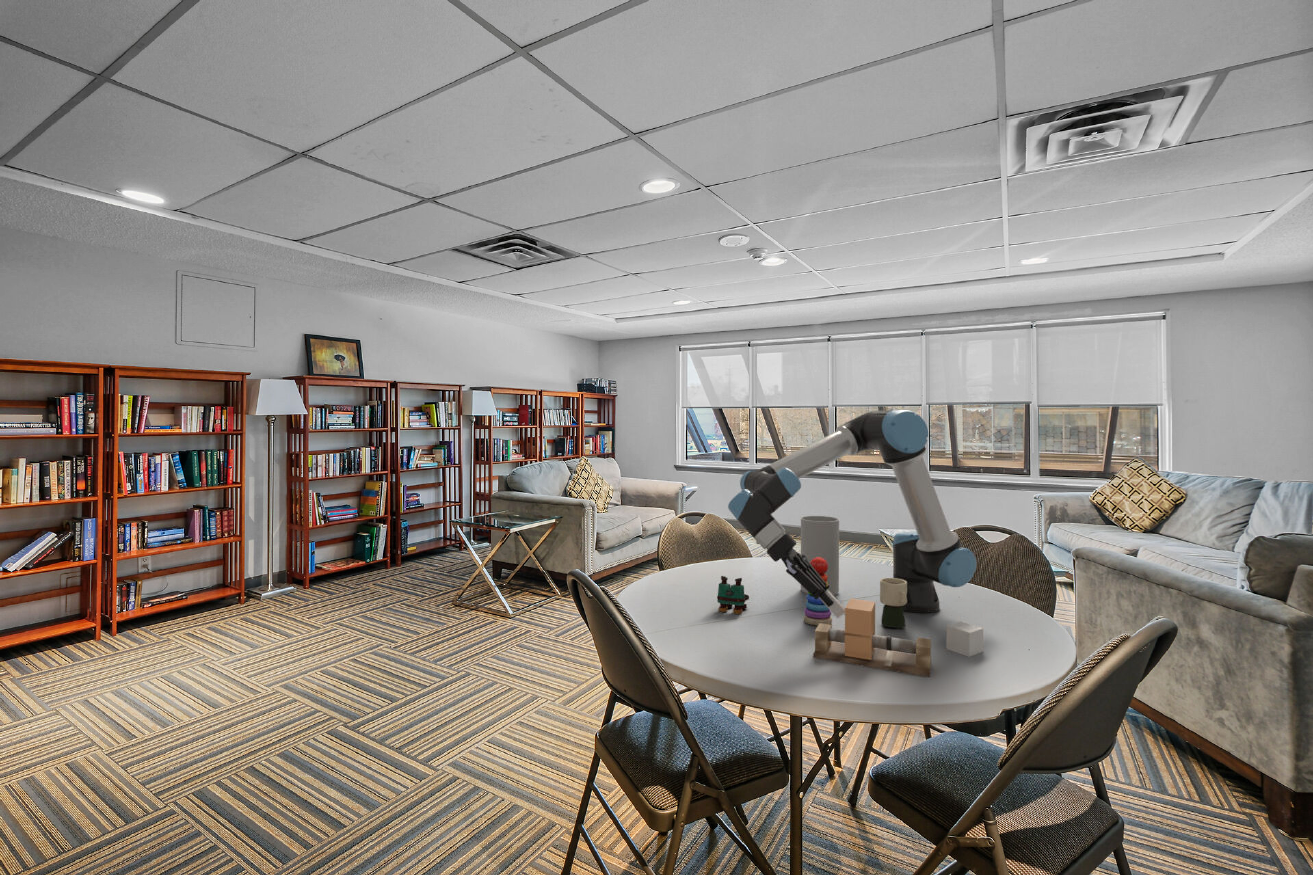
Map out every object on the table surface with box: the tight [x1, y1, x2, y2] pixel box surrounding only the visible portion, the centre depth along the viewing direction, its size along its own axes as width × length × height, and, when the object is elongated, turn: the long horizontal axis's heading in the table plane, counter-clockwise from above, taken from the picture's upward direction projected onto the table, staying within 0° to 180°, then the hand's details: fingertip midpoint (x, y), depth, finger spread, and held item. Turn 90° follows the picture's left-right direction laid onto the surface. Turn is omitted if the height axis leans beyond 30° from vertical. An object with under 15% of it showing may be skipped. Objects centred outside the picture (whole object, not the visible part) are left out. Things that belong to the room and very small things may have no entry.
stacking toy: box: [803, 557, 833, 627], centre depth 171 cm, size 8×8×19 cm
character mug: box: [879, 577, 907, 629], centre depth 167 cm, size 11×7×13 cm, turn 11°
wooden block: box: [844, 598, 876, 660], centre depth 145 cm, size 6×8×12 cm
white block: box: [946, 621, 984, 657], centre depth 150 cm, size 6×6×6 cm
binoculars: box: [716, 575, 750, 615], centre depth 183 cm, size 9×11×10 cm
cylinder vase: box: [800, 515, 840, 597], centre depth 201 cm, size 12×12×25 cm
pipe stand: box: [812, 623, 932, 678], centre depth 144 cm, size 26×10×6 cm, turn 64°
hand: (842, 614), depth 147 cm, fingers closed
